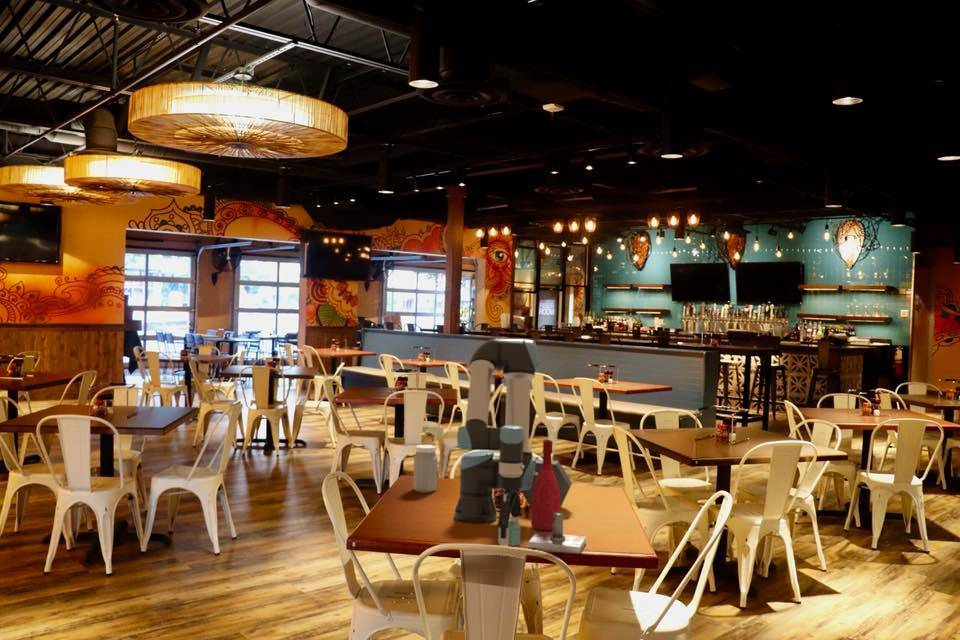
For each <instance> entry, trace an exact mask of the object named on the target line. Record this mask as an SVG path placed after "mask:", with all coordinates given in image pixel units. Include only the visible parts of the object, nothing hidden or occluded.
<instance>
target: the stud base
mask: <svg viewBox="0 0 960 640" xmlns="http://www.w3.org/2000/svg"><path fill="white" fill-rule="evenodd" d="M586 540H587V537H586V536H581V535H569V534H564V513H562V512H560V513H553V530H552V532H543V531H541V532H540V531H536V532H535V533H534V535H533V536H532V537H531V538H530V540H529V541H528V549H532V548H536V549H535V550H542V551H543V550H544V551H550V550H551V552H561V553H562V552H563V553H568V554H570V553H571V554H581V553H582V550H583V549H582V548H584V547H585V545H586V543H587V542H586ZM552 550H553V551H552Z"/></svg>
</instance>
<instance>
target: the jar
mask: <svg viewBox="0 0 960 640" xmlns="http://www.w3.org/2000/svg"><path fill="white" fill-rule="evenodd" d="M436 451H437V446H436V445H434V444H418V445H415V456H414V457H413V482H412V483H413V487H412V488H413V490H414V491H415V492H418V493H432V492H435V491H436V490H437V488H438V487H437V484H438V483H437V482H438V456H436V455H437V452H436Z"/></svg>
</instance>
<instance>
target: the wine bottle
mask: <svg viewBox="0 0 960 640" xmlns="http://www.w3.org/2000/svg"><path fill="white" fill-rule="evenodd" d="M542 453H543V456H542V457H543V459H542V460H543V464H542V466H541V471H540V473H539V475H538V474H537V475H538V478H537V480H536V482H535V484H534V487H533V491H532V500H531V507H530V509H531V510H530V512H531V513H530V514H531V515H530V524H531V527H532V528H533V529H535V530H539V531H553V513H561V507H560V490H559V486H558V483H557V480H556V478H555V475H554V472H553V468H552V463H551V460H552V454H553V441H552V440H550V439H545V440H543V441H542Z"/></svg>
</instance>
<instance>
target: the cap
mask: <svg viewBox="0 0 960 640" xmlns="http://www.w3.org/2000/svg"><path fill="white" fill-rule="evenodd" d="M508 527H509V542H508V545H512V546H511V547H516V546H519V545H520V544H521V524H520V522H519V523H517V522H510V521H509V523H508ZM497 529H498V530H497V531H498V532H497V544H499V539H500V527H497Z"/></svg>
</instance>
